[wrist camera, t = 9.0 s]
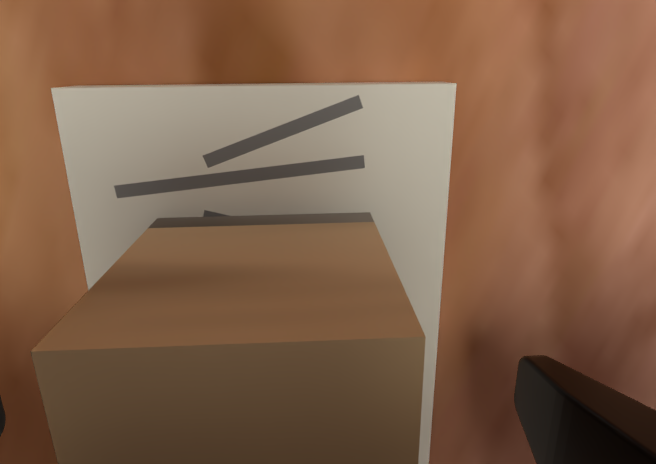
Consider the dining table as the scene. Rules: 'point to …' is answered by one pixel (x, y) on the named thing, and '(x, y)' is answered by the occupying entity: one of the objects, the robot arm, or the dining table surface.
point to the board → (267, 169)
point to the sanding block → (239, 349)
